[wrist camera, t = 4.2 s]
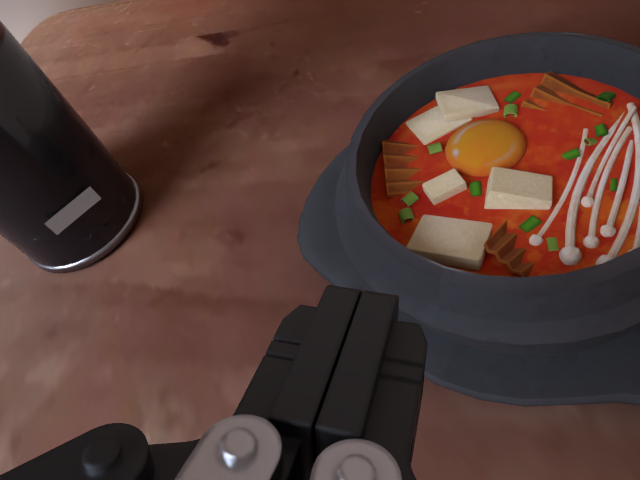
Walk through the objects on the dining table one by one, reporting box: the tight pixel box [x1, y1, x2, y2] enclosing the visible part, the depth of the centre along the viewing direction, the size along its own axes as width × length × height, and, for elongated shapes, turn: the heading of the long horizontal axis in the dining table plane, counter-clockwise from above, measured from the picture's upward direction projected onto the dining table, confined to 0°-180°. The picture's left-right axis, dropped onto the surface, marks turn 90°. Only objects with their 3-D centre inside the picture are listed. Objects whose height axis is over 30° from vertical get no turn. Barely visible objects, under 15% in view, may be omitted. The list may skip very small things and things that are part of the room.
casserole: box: [298, 32, 640, 406], centre depth 26 cm, size 25×19×8 cm
